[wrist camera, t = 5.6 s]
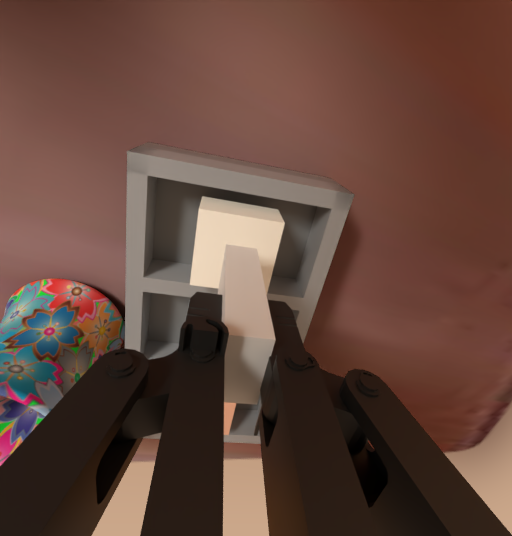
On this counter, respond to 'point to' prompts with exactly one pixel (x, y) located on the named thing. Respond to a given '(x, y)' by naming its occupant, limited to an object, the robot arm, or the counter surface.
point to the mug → (49, 350)
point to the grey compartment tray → (183, 239)
